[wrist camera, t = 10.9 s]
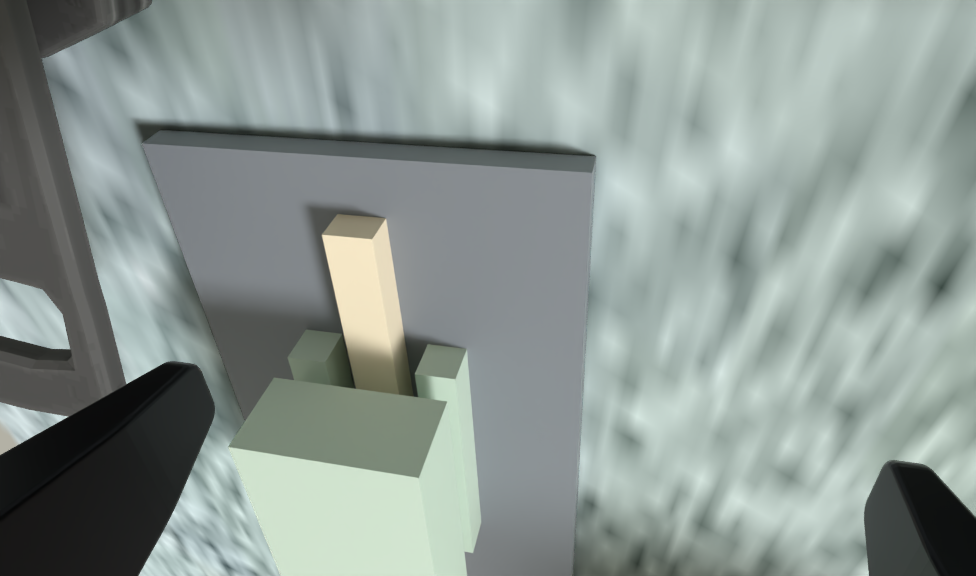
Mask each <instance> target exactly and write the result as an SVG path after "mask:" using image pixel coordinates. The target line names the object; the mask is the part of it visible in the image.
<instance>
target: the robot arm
mask: <svg viewBox="0 0 976 576" xmlns="http://www.w3.org/2000/svg"><path fill="white" fill-rule="evenodd" d="M214 413H215V406H214V401H213V399H212V396H211V394H210V391H209V389H208V386H207V384H206V381H205V379H204V376H203V374H202V371H201V370H200V368H199V367H198V366H197V365H195V364H191V363H183V362H176V361H170V362H166V363H164V364H162V365H160V366H158V367H157V368H155V369H153V370H151V371H149V372H148V373H146V374H144V375H142V376H140V377H139V378H137V379H135V380H133V381H132V382H130V383H128V384H126V385H124V386H123V387H121V388H119V389H117V390H115V391H114V392H112V393H110V394H108V395H107V396H105V397H103V398H101V399H99V400H98V401H96V402H94V403H92V404H91V405H89V406H87V407H85V408H83V409H82V410H80V411H78V412H76V413H74V414H73V415H71V416H69V417H67V418H66V419H64V420H62V421H60V422H58V423H57V424H55V425H53V426H51V427H49V428H48V429H46V430H44V431H42V432H41V433H39V434H37V435H35V436H33V437H32V438H30V439H28V440H26V441H24V442H23V443H21V444H19V445H17V446H16V447H14V448H12V449H10V450H9V451H7V452H5V453H3V454H1V455H0V576H138V575H139V574H140V572H141V570H142V568H143V566H144V565H145V563H146V561H147V559H148V557H149V556H150V554H151V552H152V550H153V548H154V547H155V545H156V543H157V541H158V539H159V538H160V536H161V534H162V532H163V530H164V528H165V527H166V525H167V523H168V521H169V519H170V517H171V515H172V513H173V511H174V509H175V507H176V504H177V502H178V500H179V498H180V496H181V493H182V491H183V489H184V486H185V484H186V482H187V479H188V477H189V475H190V472H191V470H192V468H193V465H194V463H195V461H196V459H197V456H198V454H199V452H200V449H201V447H202V445H203V442H204V440H205V438H206V435H207V433H208V431H209V428H210V426H211V424H212V421H213V418H214ZM864 525H865V536H866V547H867V558H868V569H869V576H976V517H975V516H974V515H973V514H972V512H971V511H970V510H969V509H968V508H967V507H966V506H965V505H964V504H963V503H962V502H961V500H960V499H959V498H958V497H957V496H956V495H955V494H954V493H953V492H952V491H951V490H950V488H949V487H948V486H947V485H946V484H945V483H944V482H943V481H942V480H941V479H940V478H939V476H938V475H937V474H936V473H935V472H934V471H933V470H932V469H930V468H929V467H928V466H926V465H923V464H919V463H912V462H904V461H897V460H890V461H888V462H886V463H885V464H884V466H883V467H882V469H881V471H880V473H879V476H878V478H877V480H876V482H875V484H874V486H873V488H872V491H871V493H870V495H869V497H868V499H867V502H866V505H865V511H864Z"/></svg>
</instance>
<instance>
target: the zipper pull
mask: <svg viewBox="0 0 976 576" xmlns="http://www.w3.org/2000/svg"><path fill="white" fill-rule="evenodd" d="M151 3H152V0H0V278H2V279H6V280H10V281H14V282H18V283H22V284H25V285H29V286H33V287H36V288H40V289H43V290H44V291H45V293H46V294H47V295H48V296H49V298H50V299H51V300H52V301H53V303H54V304H55V305H56V306H57V308H58V309H59V310H60V311H61V313H62V314H63V317H64V322H65V326H66V331H67V336H68V340H69V345H70V349H71V350H70V349H50V348H46V347H42V346H38V345H34V344H30V343H26V342H22V341H18V340H14V339H10V338H6V337H3V336H0V402H2V403H6V404H9V405H13V406H17V407H21V408H25V409H29V410H35V411H40V412H46V413H52V414H57V415H63V416H71V415H73V414H74V413H76V412H78V411H80V410H82V409H83V408H85V407H87V406H89V405H91V404H92V403H94V402H96V401H98V400H99V399H101V398H103V397H105V396H107V395H108V394H110V393H112V392H114V391H115V390H117V389H119V388H121V387H123V386H124V385H126V381H125V377H124V373H123V369H122V366H121V362H120V358H119V354H118V350H117V346H116V342H115V338H114V334H113V330H112V326H111V322H110V318H109V314H108V310H107V306H106V303H105V300H104V296H103V293H102V290H101V286H100V283H99V280H98V276H97V272H96V268H95V264H94V260H93V256H92V253H91V249H90V245H89V241H88V237H87V233H86V229H85V225H84V222H83V218H82V214H81V210H80V206H79V202H78V198H77V195H76V191H75V187H74V183H73V179H72V175H71V171H70V168H69V164H68V160H67V156H66V152H65V148H64V144H63V140H62V137H61V133H60V129H59V125H58V121H57V117H56V113H55V110H54V106H53V102H52V98H51V94H50V90H49V86H48V82H47V79H46V75H45V71H44V67H43V63H42V59H41V58H45V57H48V56H51V55H53V54H55V53H57V52H59V51H61V50H63V49H65V48H67V47H70V46H72V45H74V44H76V43H78V42H80V41H82V40H84V39H86V38H89V37H91V36H93V35H95V34H97V33H99V32H101V31H103V30H105V29H107V28H109V27H111V26H113V25H115V24H116V23H118V22H120V21H122V20H124V19H126V18H128V17H130V16H132V15H134V14H136V13H138V12H140V11H142V10H144V9H146V8H148V7H149V6H150V5H151Z"/></svg>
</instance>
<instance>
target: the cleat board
mask: <svg viewBox="0 0 976 576" xmlns="http://www.w3.org/2000/svg"><path fill="white" fill-rule="evenodd" d="M142 146H143V149H144V151H145V154H146V157H147V159H148V162H149V165H150V167H151V170H152V173H153V175H154V178H155V181H156V183H157V186H158V189H159V191H160V194H161V197H162V200H163V202H164V205H165V208H166V210H167V213H168V216H169V218H170V221H171V224H172V226H173V229H174V232H175V234H176V237H177V240H178V242H179V245H180V248H181V250H182V253H183V256H184V259H185V261H186V264H187V267H188V269H189V272H190V275H191V277H192V280H193V283H194V285H195V288H196V291H197V293H198V296H199V299H200V301H201V304H202V307H203V309H204V312H205V315H206V318H207V320H208V323H209V326H210V328H211V331H212V334H213V336H214V339H215V342H216V344H217V347H218V350H219V352H220V355H221V358H222V360H223V363H224V366H225V368H226V371H227V374H228V376H229V379H230V382H231V385H232V387H233V390H234V393H235V395H236V398H237V401H238V403H239V406H240V409H241V411H242V414H243V417H244V419H245V421H246V419H247V418H248V416H249V415H250V413H251V412H252V410H253V409H254V407H255V406H256V404H257V403H258V401H259V400H260V398H261V397H262V395H263V394H264V392H265V391H266V389H267V388H268V386H269V385H270V383H271V381H272V380H273V378H281V379H289V380H294V378H293V374H292V371H291V367H290V364H289V361H288V356H289V354H290V353H291V351H292V350H293V348H294V347H295V345H296V344H297V342H298V341H299V339H300V338H301V336H302V335H303V333H304V332H305V330H306V329H307V330H315V331H323V332H331V333H340V334H342V335H343V340H344V344H345V349H346V353H347V358H348V362H349V367H350V371H351V375H352V380H353V384H354V389H361V390H368V391H376V392H383V393H390V394H397V395H405V396H412V397H418V393H417V386H416V379H415V372H416V370H417V368H418V365H419V363H420V361H421V359H422V356H423V354H424V352H425V350H426V347H427V345H428V344H430V345H438V346H447V347H455V348H463V349H467V357H468V369H469V381H470V393H471V405H472V417H473V429H474V441H475V453H476V464H477V476H478V488H479V500H480V512H481V525H480V529H479V533H478V536H477V540H476V544H475V548H474V551H473V553H470V552H464V553H465V561H466V570H467V576H573V570H574V551H575V533H576V515H577V496H578V478H579V460H580V441H581V423H582V405H583V386H584V368H585V350H586V332H587V313H588V295H589V277H590V258H591V240H592V222H593V203H594V185H595V167H596V156H581V155H565V154H548V153H532V152H516V151H499V150H483V149H466V148H450V147H433V146H417V145H400V144H384V143H367V142H351V141H334V140H318V139H301V138H285V137H268V136H252V135H235V134H219V133H202V132H186V131H170V130H160V131H158V132H157V133H155V134H154V135H153V136H151V137H150V138H148V139H147V140H146V141H144V142H143V143H142Z"/></svg>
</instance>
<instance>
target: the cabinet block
mask: <svg viewBox="0 0 976 576" xmlns="http://www.w3.org/2000/svg"><path fill="white" fill-rule="evenodd" d="M288 361H289V364H290V367H291V371H292V374H293V378H294V380H289V379H281V378H273V380H272V381H271V383H270V385H269V386H268V388H267V389H266V391H265V392H264V394H263V395H262V397H261V398H260V400H259V401H258V403H257V404H256V406H255V407H254V409H253V410H252V412H251V413H250V415H249V416H248V418H247V419H246V421H245V422H244V424H243V425H242V427H241V428H240V430H239V431H238V433H237V434H236V436H235V437H234V439H233V440H232V442H231V443H230V445H229V446H228V448H229V450H230V453H231V455H232V458H233V460H234V463H235V465H236V468H237V470H238V473H239V475H240V477H241V480H242V482H243V485H244V487H245V490H246V492H247V495H248V497H249V499H250V502H251V504H252V507H253V509H254V512H255V514H256V517H257V519H258V522H259V524H260V526H261V529H262V531H263V534H264V536H265V539H266V541H267V544H268V546H269V548H270V551H271V553H272V556H273V558H274V561H275V563H276V566H277V568H278V570H279V573H280V575H281V576H467V570H466V561H465V553H464V552H470V553H473V551H474V548H475V544H476V540H477V536H478V533H479V529H480V525H481V512H480V500H479V488H478V476H477V464H476V453H475V441H474V429H473V417H472V405H471V393H470V381H469V369H468V357H467V349H463V348H455V347H447V346H438V345H430V344H428V345H427V347H426V350H425V352H424V354H423V356H422V359H421V361H420V363H419V365H418V368H417V370H416V372H415V379H416V386H417V393H418V397H412V396H405V395H397V394H390V393H383V392H376V391H368V390H361V389H354V384H353V380H352V375H351V371H350V367H349V362H348V358H347V353H346V349H345V344H344V340H343V335H342V334H340V333H331V332H323V331H315V330H307V329H306V330H305V332H304V333H303V335H302V336H301V338H300V339H299V341H298V342H297V344H296V345H295V347H294V348H293V350H292V351H291V353H290V354H289V356H288Z"/></svg>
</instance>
